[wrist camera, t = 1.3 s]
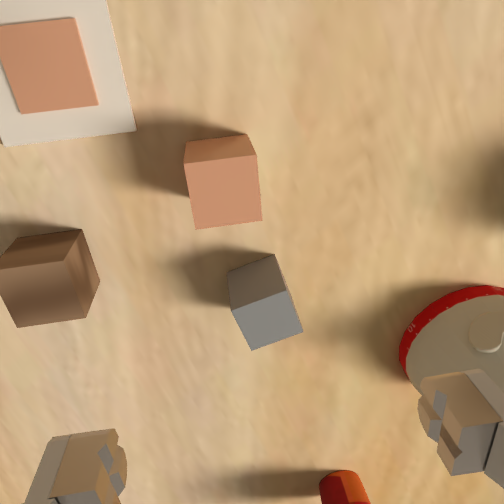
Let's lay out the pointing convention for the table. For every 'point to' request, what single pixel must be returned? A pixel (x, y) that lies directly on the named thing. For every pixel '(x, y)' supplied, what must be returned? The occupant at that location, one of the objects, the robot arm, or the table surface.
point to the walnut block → (48, 278)
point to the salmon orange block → (222, 181)
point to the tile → (60, 72)
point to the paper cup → (342, 489)
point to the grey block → (262, 303)
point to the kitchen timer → (457, 336)
